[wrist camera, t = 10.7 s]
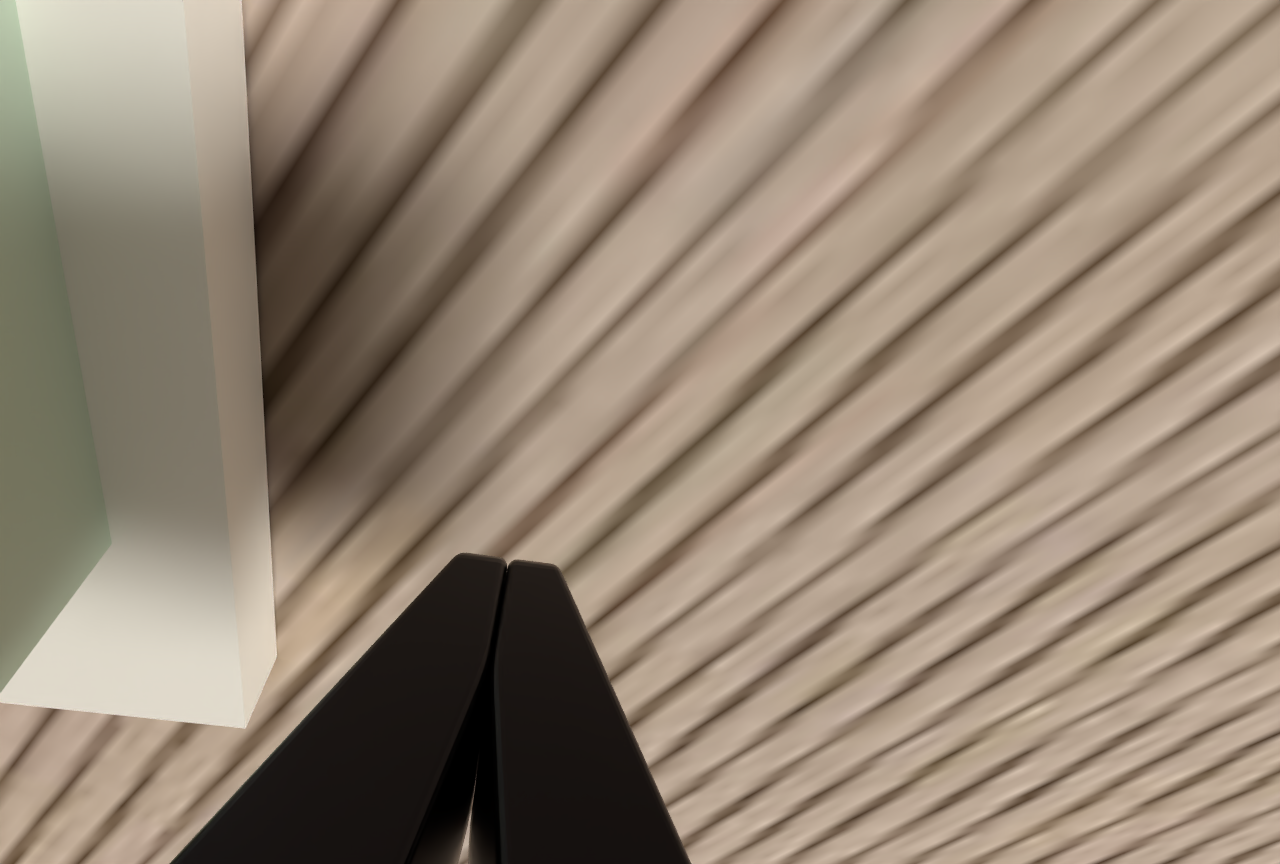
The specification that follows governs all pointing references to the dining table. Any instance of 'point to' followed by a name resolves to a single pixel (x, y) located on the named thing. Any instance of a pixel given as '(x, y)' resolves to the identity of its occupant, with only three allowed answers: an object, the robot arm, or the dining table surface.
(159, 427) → the board
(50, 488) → the panel
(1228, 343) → the dining table surface
